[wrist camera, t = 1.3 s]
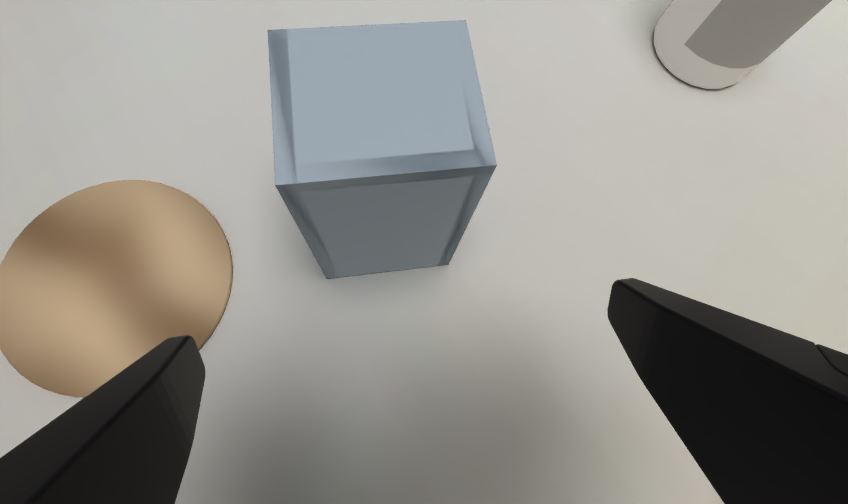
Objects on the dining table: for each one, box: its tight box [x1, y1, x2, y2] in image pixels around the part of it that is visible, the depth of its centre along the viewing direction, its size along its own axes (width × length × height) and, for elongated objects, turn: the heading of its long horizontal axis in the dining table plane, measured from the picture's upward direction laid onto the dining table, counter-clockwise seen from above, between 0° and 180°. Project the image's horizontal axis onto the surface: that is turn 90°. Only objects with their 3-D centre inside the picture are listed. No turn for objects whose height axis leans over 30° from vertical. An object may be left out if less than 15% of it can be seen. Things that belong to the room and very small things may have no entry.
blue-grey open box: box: [268, 20, 497, 279], centre depth 19 cm, size 6×6×11 cm
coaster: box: [0, 180, 233, 397], centre depth 22 cm, size 11×11×1 cm
